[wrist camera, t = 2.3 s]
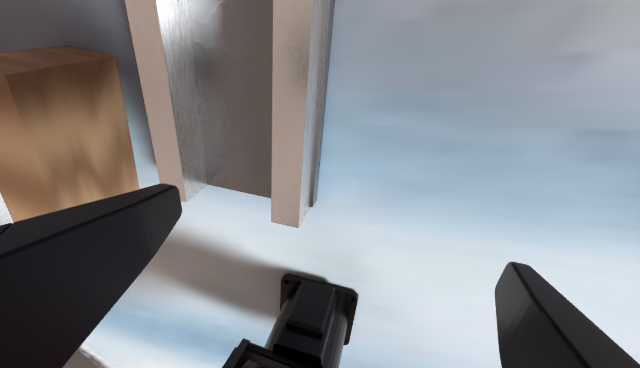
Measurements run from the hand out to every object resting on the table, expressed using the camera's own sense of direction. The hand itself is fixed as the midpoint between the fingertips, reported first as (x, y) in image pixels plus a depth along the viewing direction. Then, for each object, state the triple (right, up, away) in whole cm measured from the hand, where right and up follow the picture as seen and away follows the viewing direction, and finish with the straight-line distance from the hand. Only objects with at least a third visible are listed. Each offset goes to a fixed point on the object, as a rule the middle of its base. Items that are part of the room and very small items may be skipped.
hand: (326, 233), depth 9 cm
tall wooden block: (-17, +4, +17) cm, 24 cm away
